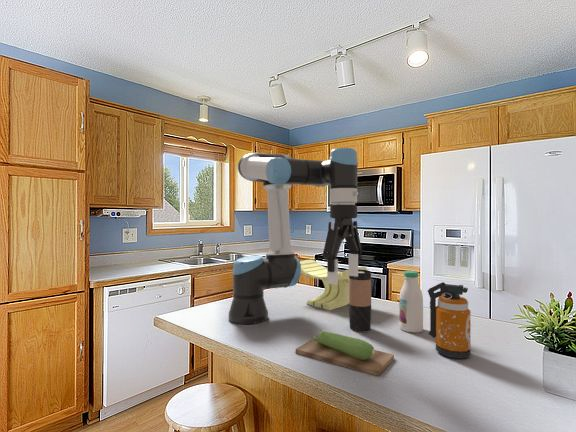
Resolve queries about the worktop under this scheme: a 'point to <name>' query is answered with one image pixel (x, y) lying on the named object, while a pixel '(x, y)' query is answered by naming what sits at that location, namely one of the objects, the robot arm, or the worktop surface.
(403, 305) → the milk bottle
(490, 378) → the worktop surface
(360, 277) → the travel mug
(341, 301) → the slatted curved stool
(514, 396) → the worktop surface
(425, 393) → the worktop surface
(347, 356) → the serving board
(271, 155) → the robot arm
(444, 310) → the canister
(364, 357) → the edible corn
